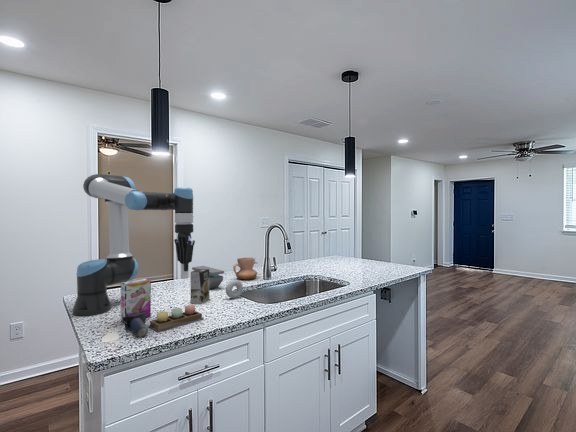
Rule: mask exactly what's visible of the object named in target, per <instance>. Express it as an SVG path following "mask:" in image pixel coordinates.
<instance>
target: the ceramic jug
mask: <svg viewBox="0 0 576 432" xmlns="http://www.w3.org/2000/svg"><path fill="white" fill-rule="evenodd" d="M236 262H237V263H235V264H234V265H233V266H232V267H233V268H232V269H233V272H234V274H235V276H236V278H237V279H238V280H243V281H249V280H253V279H255V278H256V277H257V276H258V272H257V271H256V270H255V269H254V266H255V264H259V262H258V261H256V257H253V256H252V257H251V256H249V257H248V256H247V257H239V258H237V259H236ZM236 267H238V268H240V269H239V270H238V271H236Z"/></svg>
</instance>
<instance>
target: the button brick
mask: <svg viewBox="0 0 576 432" xmlns="http://www.w3.org/2000/svg"><path fill="white" fill-rule="evenodd" d="M195 311H196V306H195V304H189V305H185V306H184V312H185V314H193V313H195Z"/></svg>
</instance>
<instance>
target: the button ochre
mask: <svg viewBox="0 0 576 432" xmlns="http://www.w3.org/2000/svg"><path fill="white" fill-rule="evenodd" d="M168 316H169V311H160V312H157V313H156V319H157V321H166V320H168Z"/></svg>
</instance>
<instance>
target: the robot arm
mask: <svg viewBox="0 0 576 432" xmlns="http://www.w3.org/2000/svg"><path fill="white" fill-rule="evenodd" d="M82 187H83V191H84V192H85V193H86V195H87V196H89V197H91V198H94V199H99V200H100V199H104V203H105V204H106V205H107V206H108V230H109V231H108V232H109V234H108V235H109V254H108V255H107V256H106V259H103V258H102V259H101V258H99V259H97V258H96V259H91V260H87V261H84V262H81V263H80V264H78V266H77V267H76V269H77V270H76V287H77V288H76V290H77V294H76V299H75V302H74V305H73V307H72V315H74V316H78V317H86V316H87V317H88V316H89V317H90V316H94V315H95V316H96V315H100V314H103V313H106V312H109V311H110V310H111V309H112V303H111V301H110V297H109V296H108V295H109V294H108V293H107V288H108V286H112V285H116V284H121V283H123V282H129V281H134V279H135V277H136V276H137V275H138V272H139V263H138V262H137V259H136V258H134V257H133V254H132V253H131V252H130V241H129V240H130V235H129V213H128V212H129V211H128V209H129V210H133V211H134V210H135V211H174V223H175V224H174V233H176V234H177V238H175V239H174V240H173V241H174V245H175V250H176V258H177V261H178V262H179V263H180V279H181V280H185V279H189V264H190V263H191V262H193V254H194V252H193V251H194V246H195V243H196V241H195V240H193V239H192V234H193V233H194V224H193V223H194V194H193V192H194V191H193V188H191V187H184V186H183V187H175V188H174V192H155V191H154V192H153V191H152V192H150V191H142V190H140V189H136V185H135V183H134V181H133V180H132V178H129V177H127V176H123V175H113V174H102V173H98V174H97V173H95V174H91V175H90V176H89V175H88V176H87V178H86V179H85V180H84V181H83V185H82Z"/></svg>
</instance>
